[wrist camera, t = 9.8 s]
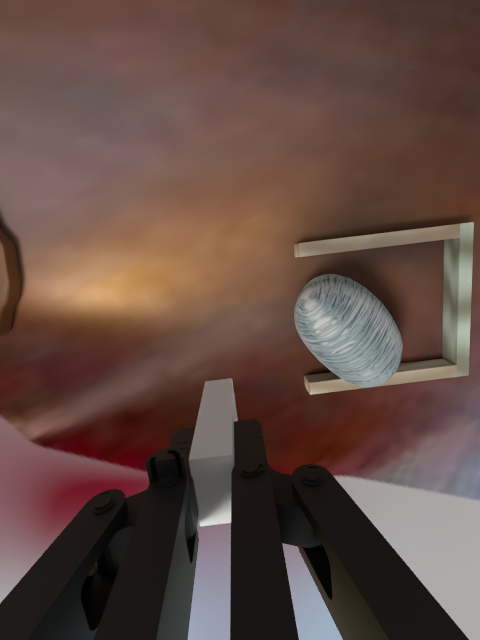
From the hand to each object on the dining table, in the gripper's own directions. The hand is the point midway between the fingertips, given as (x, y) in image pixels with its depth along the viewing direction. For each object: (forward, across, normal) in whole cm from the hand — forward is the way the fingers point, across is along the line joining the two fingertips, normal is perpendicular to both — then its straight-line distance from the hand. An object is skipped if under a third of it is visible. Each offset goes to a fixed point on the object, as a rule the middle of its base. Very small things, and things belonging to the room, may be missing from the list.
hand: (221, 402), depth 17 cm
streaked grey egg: (+21, +13, -2) cm, 25 cm away
